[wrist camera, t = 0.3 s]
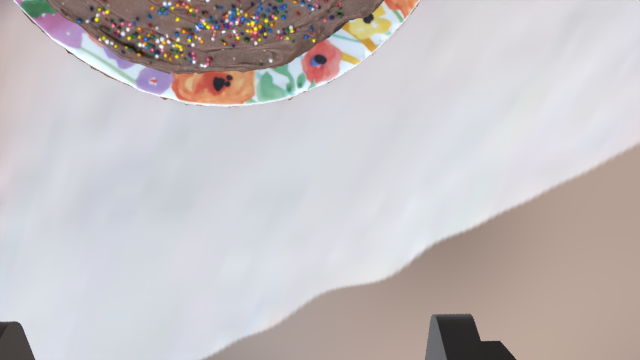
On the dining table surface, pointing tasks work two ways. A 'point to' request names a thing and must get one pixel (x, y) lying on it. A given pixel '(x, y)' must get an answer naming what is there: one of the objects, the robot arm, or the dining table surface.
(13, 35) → the dining table surface
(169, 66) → the chocolate cake
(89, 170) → the dining table surface
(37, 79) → the dining table surface
